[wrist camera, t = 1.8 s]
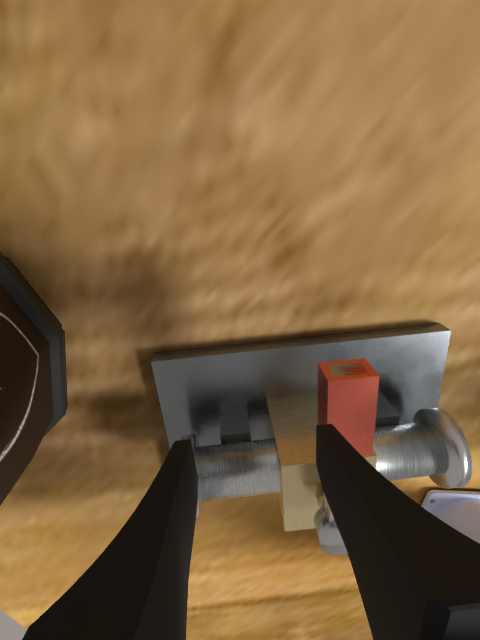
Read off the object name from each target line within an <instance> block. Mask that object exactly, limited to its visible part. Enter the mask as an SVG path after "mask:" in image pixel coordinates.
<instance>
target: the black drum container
mask: <svg viewBox="0 0 480 640" xmlns="http://www.w3.org/2000/svg"><path fill="white" fill-rule="evenodd" d="M66 410H67V380H66V353H65V332H64V330H63V329H62V324H61V323H60V322H59V320H58V319H57V318H56V317H55V315H54V314H53V313H52V312H51V310H50V309H49V308H48V307H47V305H46V304H45V303H44V301H43V300H42V299H41V298H40V296H39V295H38V294H37V293H36V291H35V290H34V289H33V288H32V286H31V285H30V284H29V283H28V281H27V280H26V279H25V278H24V276H23V275H22V274H21V273H20V271H19V270H18V269H17V268H16V266H15V265H14V264H13V263H12V261H11V260H10V259H9V258H8V257H5V256H4V255H3V254H2V253H1V252H0V505H1V504H2V502H3V501H4V499H5V498H6V496H7V495H8V493H9V492H10V490H11V489H12V487H13V486H14V485H15V483H16V482H17V480H18V479H19V477H20V476H21V474H22V473H23V471H24V470H25V468H26V467H27V465H28V464H29V462H30V461H31V459H32V458H33V456H34V454H35V452H36V450H37V448H38V446H39V444H40V442H41V440H42V438H43V437H44V436H45V435H46V434H47V433H48V432H49V431H50V430H51V429H52V428H53V427H54V426H55V425H56V424H57V423H58V421H59V420H60V419H61V418H62V417H63V416H64V415H65V414H66Z"/></svg>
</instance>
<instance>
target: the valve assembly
mask: <svg viewBox="0 0 480 640" xmlns="http://www.w3.org/2000/svg"><path fill="white" fill-rule="evenodd" d="M450 334H451V330H450V329H448V328H446V327H445V326H443V325H442V324H440V323H439V324H430V325H420V326H411V327H401V328H391V329H382V330H372V331H362V332H353V333H343V334H334V335H324V336H314V337H305V338H295V339H285V340H276V341H266V342H256V343H247V344H237V345H228V346H218V347H208V348H199V349H189V350H179V351H170V352H160V353H154V355H153V357H152V360H151V365H152V370H153V374H154V379H155V384H156V388H157V393H158V397H159V402H160V406H161V411H162V416H163V420H164V425H165V429H166V434H167V438H168V443H169V448H170V449H171V447H172V445H173V443H174V442H175V441H178V440H187V439H191V442H192V448H193V453H194V458H195V464H196V469H197V475H198V503H197V513H196V518H198V517H200V516H201V512H202V503H203V502H205V501H213V500H222V499H231V498H240V497H248V496H257V495H266V494H275V493H277V494H278V499H279V504H280V510H281V515H282V520H283V525H284V531H285V532H287V531H295V530H304V529H313V528H316V527H315V524H314V516H315V513H316V512H317V511H318V510H319V509H320V508H321V507H322V506H324V492H323V488H322V485H321V481H320V478H319V474H318V470H317V466H316V425H318V363H323V362H332V361H341V360H351V359H360V358H365V359H366V360H367V361H368V363H369V364H370V365H371V366H372V367H373V369H374V370H375V371H376V372H377V373H378V375H379V387H378V398H377V409H376V420H375V431H374V442H373V453H372V455H367V456H363V457H364V458H365V459H366V460H367V461H368V462H369V463H370V464H371V465H372V466H373V467H374V468H375V469H376V470H377V471H379V472H380V473H381V474H382V475H383V476H384V477H385V478H386V479H388V480H398V479H406V478H415V477H424V476H429V477H430V478H431V479H432V481H433V482H435V483H436V484H437V485H438V486H440V487H442V488H445V489H450V488H459V487H464V486H465V485H467V484H468V482H469V480H470V478H471V473H472V460H471V454H470V450H469V447H468V444H467V441H466V439H465V437H464V434H463V432H462V431H461V429H460V427H459V426H458V424H457V423H456V421H455V420H454V419H453V418H452V417H451V416H450V415H449V414H448V413H447V412H446V411H444V410H442V409H440V408H437V407H438V402H439V396H440V390H441V385H442V379H443V374H444V368H445V362H446V357H447V351H448V346H449V340H450Z"/></svg>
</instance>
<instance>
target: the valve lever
mask: <svg viewBox="0 0 480 640" xmlns="http://www.w3.org/2000/svg"><path fill="white" fill-rule="evenodd" d="M378 387H379V375H378V373H377V372H376V371H375V370H374V369H373V367H372V366H371V365H370V364H369V363H368V361H367V360H366V359H365V358H360V359H351V360H341V361H332V362H323V363H318V425H324V424H333V425H334V426H335V427H336V429H337V430H338V431H339V432H340V433H341V434H342V435H343V436H344V437H345V439H346V440H347V441H348V442H349V443H350V444H351V445H352V446H353V447H354V448H355V449H356V450H357V451H358V452H359V453H360V454H361V455H362V456H367V455H372V453H373V442H374V431H375V420H376V409H377V398H378ZM314 524H315V527H316V531H317V534H318V538H319V542H320V545H321V548H322V549H323V550H324V551H325V552H327V553H329V554H332V555H347V554H348V553H347V550H346V547H345V545H344V542H343V540H342V537H341V535H340V532H339V530H338V527H337V525H336V522H335V520H334V517H333V515H332V512H331V510H330V507H329V504H328V502H327V499H326V497H325V494H324V506H322V507H321V508H320V509H319V510H318V511H317V512H316V513H315V516H314Z"/></svg>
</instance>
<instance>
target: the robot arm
mask: <svg viewBox="0 0 480 640" xmlns="http://www.w3.org/2000/svg"><path fill="white" fill-rule="evenodd" d="M316 466H317V470H318V474H319V478H320V481H321V485H322V488H323V492H324V494H325V497H326V499H327V502H328V504H329V507H330V510H331V512H332V515H333V517H334V520H335V522H336V525H337V527H338V530H339V532H340V535H341V537H342V540H343V542H344V545H345V547H346V550H347V553H348V556H349V558H350V561H351V564H352V567H353V571H354V574H355V577H356V581H357V584H358V587H359V591H360V594H361V597H362V601H363V604H364V608H365V611H366V615H367V618H368V622H369V625H370V629H371V632H372V636H373V639H374V640H480V492H475V491H451V490H430V491H429V492H428V493H427V494H426V497H425V499H424V501H423V503H422V505H421V506H420V505H419V504H417V503H416V502H415V501H413V500H412V499H411V498H409V497H408V496H407V495H406V494H404V493H403V492H402V491H401V490H399V489H398V488H397V487H396V486H394V485H393V484H392V483H391V482H390V481H389V480H388V479H386V478H385V477H384V476H383V475H382V474H381V473H380V472H379V471H377V470H376V469H375V468H374V467H373V466H372V465H371V464H370V463H369V462H368V461H367V460H366V459H365V458H364V457H363V456H362V455H361V454H360V453H359V452H358V451H357V450H356V449H355V448H354V447H353V446H352V445H351V444H350V443H349V442H348V441H347V440H346V439H345V437H344V436H343V435H342V434H341V433H340V432H339V431H338V430H337V429H336V427H335V426H334V425H333V424H324V425H316ZM197 503H198V475H197V469H196V464H195V458H194V453H193V448H192V442H191V439H187V440H178V441H175V442H174V443H173V445H172V447H171V449H170V451H169V453H168V455H167V457H166V459H165V461H164V463H163V465H162V467H161V469H160V471H159V472H158V474H157V476H156V477H155V479H154V481H153V483H152V484H151V486H150V488H149V490H148V491H147V493H146V494H145V496H144V497H143V499H142V500H141V502H140V504H139V505H138V507H137V508H136V510H135V511H134V513H133V514H132V515H131V517H130V518H129V520H128V521H127V522H126V524H125V525H124V526H123V528H122V529H121V530H120V532H119V533H118V534H117V536H116V537H115V538H114V539H113V541H112V542H111V543H110V544H109V545H108V547H107V548H106V549H105V550H104V552H103V553H102V554H101V555H100V556H99V557H98V559H97V560H96V561H95V562H94V563H93V564H92V565H91V566H90V567H89V568H88V569H87V571H86V572H85V573H84V574H83V575H82V576H81V577H80V578H79V579H78V580H77V581H76V582H75V583H74V584H73V585H72V586H71V588H70V589H69V590H68V591H67V592H66V593H65V594H64V595H63V596H62V597H60V598H59V599H58V600H57V601H56V602H55V603H54V604H53V605H52V606H51V607H50V608H49V609H48V610H47V611H46V612H45V613H43V614H42V615H41V616H40V617H39V618H38V619H37V620H36V621H35V622H34V623H33V624H31V625H30V626H29V627H28V629H27V632H26V633H25V635H24V638H23V639H22V640H186V621H187V597H188V579H189V568H190V560H191V552H192V545H193V537H194V529H195V521H196V513H197Z"/></svg>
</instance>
